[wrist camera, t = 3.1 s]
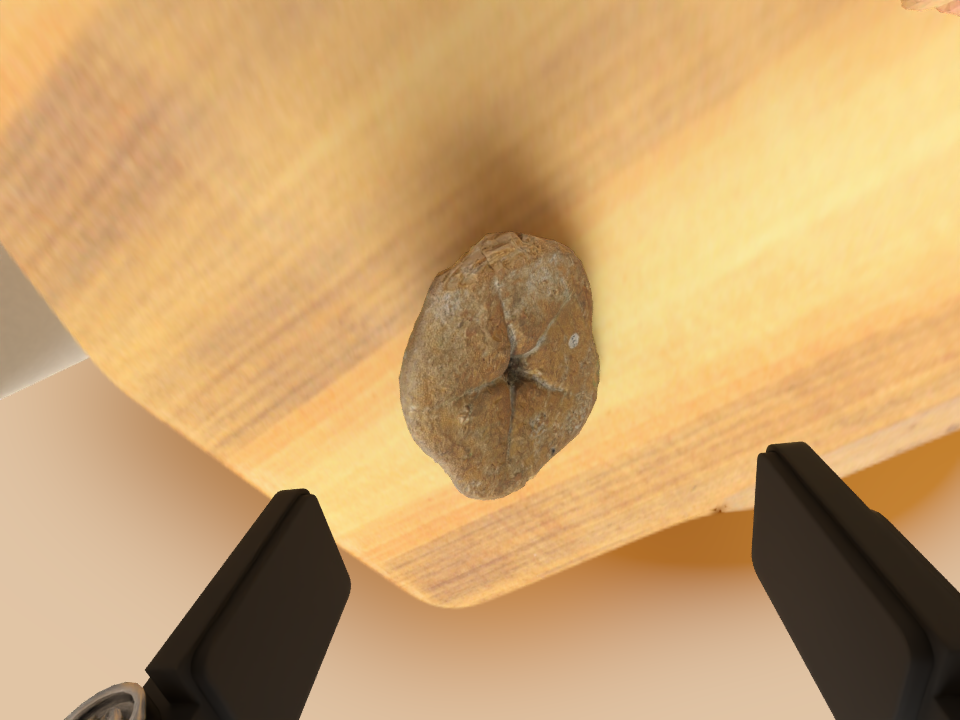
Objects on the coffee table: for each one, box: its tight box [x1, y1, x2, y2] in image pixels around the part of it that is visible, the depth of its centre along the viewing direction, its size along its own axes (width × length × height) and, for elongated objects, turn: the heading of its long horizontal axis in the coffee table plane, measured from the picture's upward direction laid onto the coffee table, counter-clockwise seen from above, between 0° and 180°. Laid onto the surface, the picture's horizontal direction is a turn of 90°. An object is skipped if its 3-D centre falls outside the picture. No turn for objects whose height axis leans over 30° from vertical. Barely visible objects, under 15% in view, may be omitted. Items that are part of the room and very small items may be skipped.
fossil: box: [399, 232, 600, 500], centre depth 18 cm, size 9×4×10 cm
